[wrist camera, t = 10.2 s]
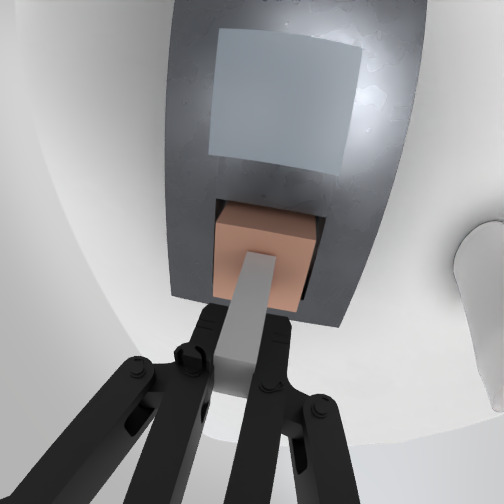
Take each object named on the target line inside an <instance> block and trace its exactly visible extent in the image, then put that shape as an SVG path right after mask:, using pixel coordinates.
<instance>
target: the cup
mask: <svg viewBox="0 0 504 504" xmlns="http://www.w3.org/2000/svg"><path fill="white" fill-rule="evenodd" d="M453 271H454V276H455V279H456V282H457V285H458V288H459V292H460V295H461V298H462V302H463V305H464V309H465V313H466V317H467V321H468V325H469V329H470V333H471V338H472V342H473V347H474V352H475V357H476V362H477V367H478V371H479V374H480V376H481V378H482V381H483V383H484V385H485V388H486V391H487V394H488V397H489V400H490V403H491V406H492V409H493V410H494V411H497V412H504V223H502V222H498V221H491V222H487V223H484V224H482V225H480V226H478V227H477V228H475V229H474V230H473V231H471V232H470V233H469V234H468V235H467V236H466V238H465V239H464V240H463V242H462V243H461V245H460V246H459V248H458V250H457V253H456V255H455V259H454V265H453Z"/></svg>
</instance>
